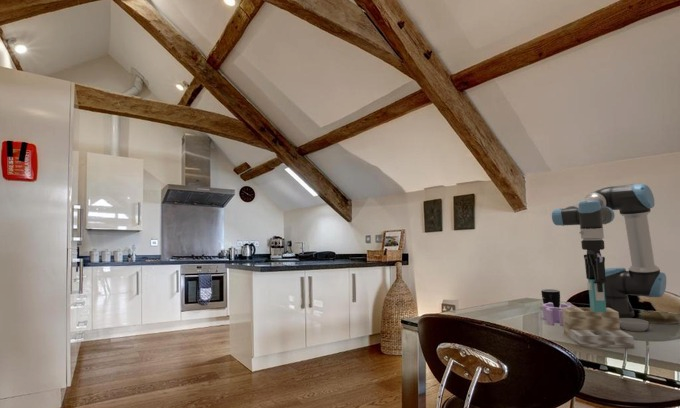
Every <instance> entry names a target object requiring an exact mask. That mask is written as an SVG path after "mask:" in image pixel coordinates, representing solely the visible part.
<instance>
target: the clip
mask: <svg viewBox="0 0 680 408" xmlns="http://www.w3.org/2000/svg"><path fill="white" fill-rule="evenodd" d="M541 305H542V317H543V321H544V320H545V321H546V323H547V325H549V326H555V324H554V323H559V326H560V327H564V325H563V313H562V308H572V305H571V304H567V303H566V302H562V303H561V302H560V307H559V308H557V307H554V306H553V303H551V302H548V303H545V304H541Z"/></svg>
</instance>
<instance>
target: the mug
mask: <svg viewBox="0 0 680 408" xmlns="http://www.w3.org/2000/svg"><path fill="white" fill-rule="evenodd" d="M541 297H542V299H541V300H542V303H543V304H545V303H548V302H551V303H553V306H554V307H557V308H560V307H561V290H559V289H555V288H544V289H541Z"/></svg>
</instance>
